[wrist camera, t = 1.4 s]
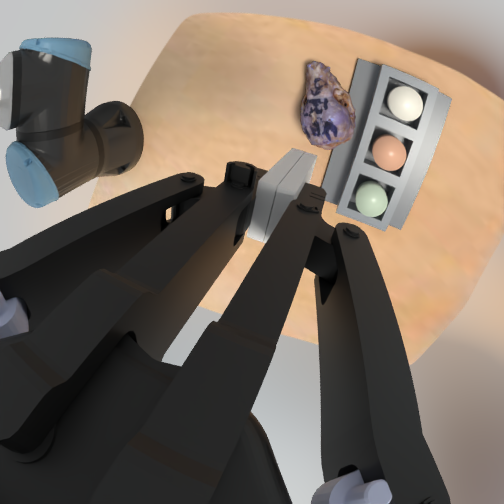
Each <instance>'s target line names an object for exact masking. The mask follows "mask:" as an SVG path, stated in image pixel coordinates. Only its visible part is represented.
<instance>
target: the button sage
mask: <svg viewBox="0 0 504 504" xmlns="http://www.w3.org/2000/svg"><path fill="white" fill-rule="evenodd" d="M387 203H388V201H387V196H386V192H385V190H384V188H383V186H382V185H381V184H379V183H378V182H376V181H365V182H363V183H361V184H360V185H359V186H358V188H357V190H356V206H357V208H358V210H359V211H360V212H361V213H362V214H363V215H365V216H368V217H376V216H379V215H381V214H382V213H383V212H384V211H385V209H386V207H387Z"/></svg>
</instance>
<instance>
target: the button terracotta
mask: <svg viewBox="0 0 504 504" xmlns="http://www.w3.org/2000/svg"><path fill="white" fill-rule="evenodd" d="M372 154H373V157H374V160H375V162H376V163H377V165H378V166H379V167H381V168H382V169H384V170H388V171H394V170H397V169H399V168H400V167H402V166H403V164H404V163H405V160H406V149H405V147H404V145H403V144H402V143H401V142H400V141H399V139H397V138H396V137H395V136H393V135H389V134H384V135H380V136H379V137H377V138H376V139H375V140H374V142H373V145H372Z"/></svg>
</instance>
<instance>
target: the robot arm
mask: <svg viewBox="0 0 504 504" xmlns="http://www.w3.org/2000/svg"><path fill="white" fill-rule="evenodd" d="M91 52H92V48H91V45H90V44H89V43H88V42H86V41H84V40H79V39H71V38H38V39H36V38H35V39H27V40H24V41H23V42H22V44H21V45H20V50H18V51H13V52H9V53H8V54H7V55H6V56H5V57H4V59H3V60H2V61H1V62H0V126H1V127H2V128H4V129H5V130H10V129H13V128H16V137H17V141H14V142H12V144H11V145H10V146H9V147H8V148H7V153H6V165H7V170H8V173H9V176H10V179H11V181H12V183H13V186H14V187H15V189H16V191H17V192H18V194H19V196H20V197H21V198H22V199H23V200H24V201H25V202H26V203H27V204H28V205H30V206H32V207H35V208H40V207H43V206H45V205H47V204H49V203H51V202H53V201H57V200H58V199H59V198H60V197H62V196H63V195H65V194H66V193H68V192H70V191H72V190H74V189H75V188H77V187H79V186H81V185H82V184H84V183H86V182H88V181H90V180H91V179H93V178H95V177H103V176H116V175H120V174H123V173H125V172H127V171H129V170H130V169H132V168H133V167H134V166H135V165H136V164H137V162H138V161H139V159H140V156H141V154H142V150H143V131H142V127H141V123H140V121H139V119H138V117H137V115H136V113H135V112H134V111H133V110H132V108H131V107H129V106H128V105H127V104H125V103H123V102H120V101H112V102H107V103H103V104H101V105H99V106H97V107H95V108H94V109H93V110H91V111H90V112H89V113H87V114H86V115H85V102H86V92H87V85H88V78H89V71H90V70H91V67H90V60H91ZM316 159H317V155H314V154H310V153H307V152H304V151H301V150H298V149H294V148H292V149H291V150H290V151H289V152H288V153H287V154H286V155H285V156H284V157H283V158H282V159H280V160H279V161H278V162H277V163H276V164H275V165H274V166H273V167H272V168H271V169H270V170H269V171H266V170H263V169H259V168H257V167H255V166H254V165H252V164H249V163H245V162H238V161H233V162H228V163H227V166H226V172H225V179H224V182H222V183H221V184H220V185H218V186H217V187H208V186H204V178H203V177H202V176H200V175H198V174H195V173H191V172H187V173H180V174H176V175H173V176H171V177H168V178H165V179H162V180H159V181H157V182H154V183H151V184H148V185H146V186H143V187H140V188H138V189H135V190H133V191H130V192H128V193H125V194H123V195H120V196H118V197H115V198H113V199H111V200H108V201H106V202H103V203H101V204H99V205H96V206H94V207H92V208H90V209H87V210H85V211H83V212H81V213H79V214H76V215H74V216H72V217H70V218H68V219H66V220H64V221H62V222H60V223H58V224H56V225H53V226H52V227H50V228H48V229H46V230H44V231H42V232H40V233H38V234H36V235H34V236H32V237H30V238H28V239H26V240H25V241H23V242H21V243H19V244H17V245H16V246H14V247H12V248H10V249H7V250H4V251H1V252H0V504H292V501H291V499H290V496H289V493H288V491H287V488H286V486H285V483H284V480H283V478H282V475H281V472H280V470H279V467H278V464H277V462H276V459H275V456H274V453H273V450H272V448H271V445H270V442H269V439H268V437H267V435H266V433H265V431H264V429H263V427H262V425H261V424H260V423H259V422H258V420H257V418H256V417H255V416H254V415H253V414H252V413H251V409H252V407H253V404H254V402H255V400H256V397H257V395H258V392H259V390H260V387H261V385H262V382H263V380H264V377H265V375H266V373H267V370H268V367H269V365H270V363H271V360H272V357H273V354H274V352H275V349H276V344H277V342H278V339H279V336H280V334H281V331H282V328H283V326H284V323H285V320H286V318H287V315H288V312H289V309H290V307H291V304H292V301H293V298H294V295H295V293H296V290H297V287H298V284H299V281H300V278H301V275H302V272H303V269H304V267H305V268H307V269H308V270H310V271H311V272H313V273H315V274H316V275H315V279H314V284H315V296H316V309H317V324H318V340H319V360H320V387H321V388H320V390H321V461H322V470H323V476H324V482H325V483H324V484H323V485H321V486H320V487H319V488H318V489H317V490H316V492H315V493H314V495H313V497H312V501H311V504H451V503H450V497H449V495H448V492H447V489H446V487H445V485H444V482H443V480H442V477H441V475H440V472H439V470H438V468H437V465H436V463H435V461H434V458H433V456H432V454H431V452H430V449H429V447H428V445H427V443H426V441H425V438H424V436H423V434H422V428H421V421H420V416H419V410H418V404H417V399H416V394H415V389H414V385H413V380H412V376H411V371H410V367H409V363H408V359H407V355H406V351H405V347H404V344H403V340H402V336H401V333H400V329H399V326H398V323H397V319H396V316H395V313H394V310H393V306H392V303H391V300H390V297H389V294H388V291H387V288H386V285H385V282H384V279H383V277H382V274H381V271H380V268H379V266H378V263H377V260H376V258H375V255H374V252H373V250H372V247H371V245H370V242H369V240H368V237H367V235H366V234H365V232H364V231H362V230H361V229H360V228H359V227H358V226H357V227H356V225H354V224H349V223H338V224H337V225H336V227H335V228H334V227H332V226H331V225H329V224H327V223H326V222H325V221H324V220H323V219H322V217H321V214H322V208H323V205H324V201H325V198H326V195H327V193H326V191H325V190H324V189H323V188H321V187H318V186H315V185H312V184H309V182H310V179H311V176H312V172H313V169H314V166H315V162H316ZM170 207H172V208H171V219H169V220H166V210H167V209H168V208H170ZM248 227H249V228H248ZM247 229H248V233H247V237H249V238H252V239H255V240H257V241H260V242H263V241H264V243H266V244H265V245H264V247H263V249H262V250H261V252H260V254H259V255H258V257H257V259H256V260H255V262H254V263H253V265H252V267H251V268H250V270H249V272H248V273H247V275H246V277H245V278H244V280H243V282H242V283H241V285H240V287H239V288H238V290H237V292H236V293H235V295H234V297H233V298H232V300H231V301H230V303H229V305H228V306H227V308H226V310H225V311H224V313H223V315H222V316H221V318H220V319H219V321H218V322H215V321H212V322H211V323H210V324H209V325H208V326H207V328H206V329H205V331H204V332H203V334H202V335H201V337H200V338H199V340H198V342H197V343H196V345H195V346H194V348H193V349H192V351H191V353H190V354H189V356H188V357H187V359H186V361H185V362H184V364H183V365H182V367H181V366H176V365H172V364H168V363H164V362H161V361H162V358H163V356H164V354H165V352H166V351H167V349H168V348H169V347H170V345H171V344H172V342H173V341H174V339H175V338H176V336H177V335H178V333H179V332H180V330H181V329H182V328H183V326H184V325H185V323H186V322H187V320H188V319H189V317H190V316H191V315H192V313H193V312H194V310H195V309H196V307H197V306H198V305H199V303H200V302H201V300H202V299H203V297H204V296H205V295H206V293H207V292H208V290H209V289H210V287H211V286H212V285H213V283H214V282H215V280H216V279H217V278H218V276H219V275H220V273H221V272H222V270H223V269H224V268H225V266H226V265H227V263H228V262H229V261H230V259H231V258H232V256H233V255H234V253H235V252H236V251H237V249H238V248H239V246H240V245H241V244H242V242H243V239H244V235H245V231H246V230H247Z"/></svg>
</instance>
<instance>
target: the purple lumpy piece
mask: <svg viewBox="0 0 504 504" xmlns="http://www.w3.org/2000/svg"><path fill="white" fill-rule="evenodd" d="M306 81H307V82H306V94H305V96H304V98H303V100H302V104H301V114H300V115H301V124H302V129H303V131H304V133H305V134H306V135H307V138H308V140H309V141H310V143H311V144H312V145H316V146H317V147H320V148H323V149H326V150H330V149H334V148H336V147H337V146H339V145H340V144H342V143H343V144H344V143H345V142H346V141H349V140H350V139H351V138H352V136H353V134H354V128H355V127H356V123H355V119H356V116H355V111H356V109H355V108H354V107H353V105H352V101H351V97H350V95H349V93H348V92H347V91H345V90H344V89H343V88H342V87H341V86H340V85H341V84H340V83H339V82H338V81H337V78H336V77H335V76H334V75H333V74H332V73H331V72H330V67H325V66H324V64H323V63H321V62H316V61H313V62H311V63H309V64H308V65H307V72H306ZM306 100H307V103H306V105H305V102H306ZM344 104H347V106H345V105H344Z"/></svg>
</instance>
